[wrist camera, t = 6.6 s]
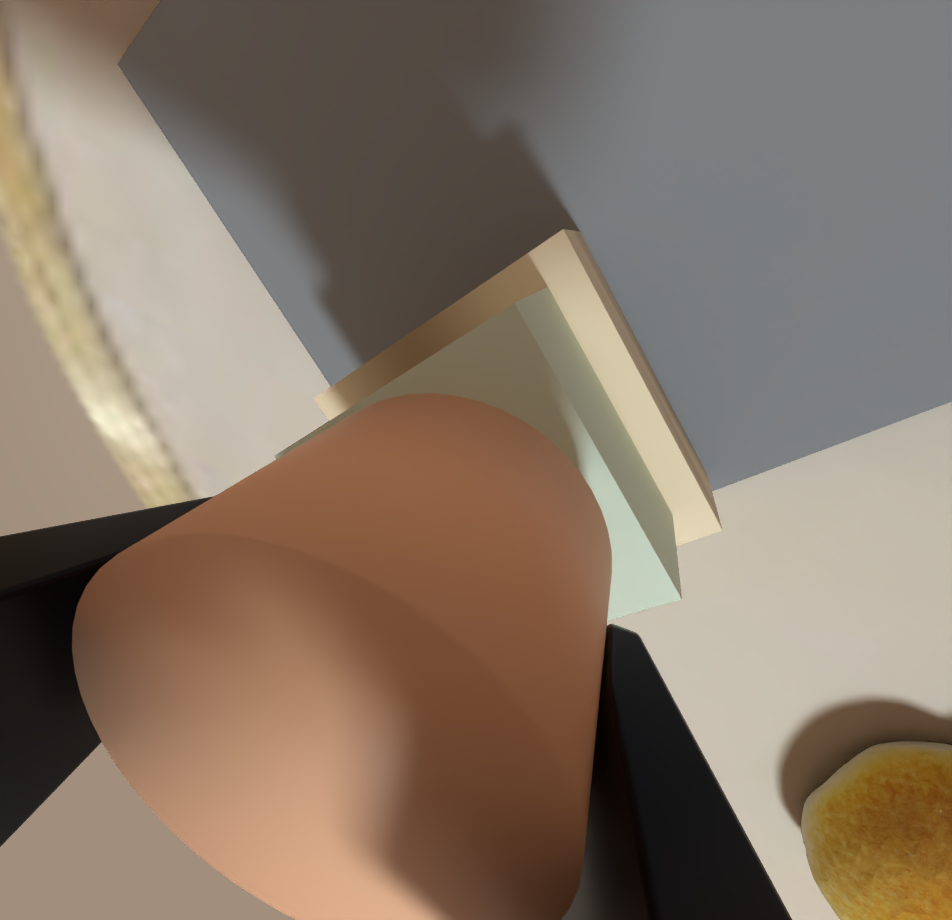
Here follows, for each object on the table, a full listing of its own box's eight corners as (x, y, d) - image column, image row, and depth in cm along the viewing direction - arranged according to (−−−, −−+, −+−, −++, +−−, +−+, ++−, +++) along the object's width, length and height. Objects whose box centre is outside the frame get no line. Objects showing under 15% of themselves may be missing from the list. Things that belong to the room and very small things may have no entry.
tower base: (580, 231, 12) (563, 228, 10) (707, 474, 14) (722, 530, 11) (370, 371, 15) (314, 398, 13) (490, 558, 17) (461, 618, 14)
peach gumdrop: (496, 324, 7) (330, 417, 3) (674, 633, 8) (700, 970, 4) (249, 478, 9) (-7, 633, 5) (411, 702, 10) (282, 957, 6)
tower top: (548, 286, 10) (514, 302, 7) (672, 514, 11) (681, 598, 9) (352, 410, 13) (274, 455, 10) (469, 589, 14) (427, 673, 11)
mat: (771, -845, 7) (778, -902, 7) (1137, 322, 10) (1154, 325, 10) (130, 68, 14) (117, 64, 14) (465, 577, 18) (462, 584, 17)
